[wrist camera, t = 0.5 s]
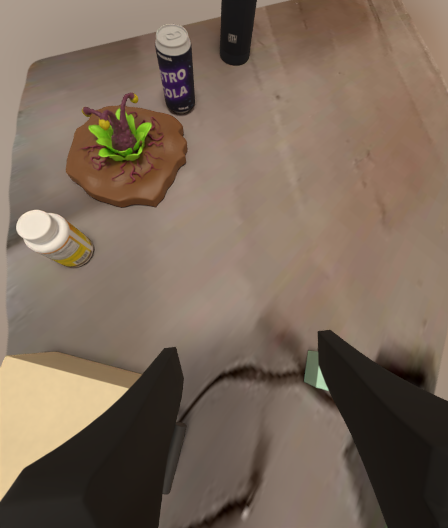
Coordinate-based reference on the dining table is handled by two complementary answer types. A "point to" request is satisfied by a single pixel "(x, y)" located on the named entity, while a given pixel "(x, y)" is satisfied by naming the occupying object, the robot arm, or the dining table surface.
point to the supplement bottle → (54, 238)
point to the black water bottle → (236, 30)
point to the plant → (126, 154)
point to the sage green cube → (314, 371)
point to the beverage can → (176, 67)
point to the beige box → (50, 404)
